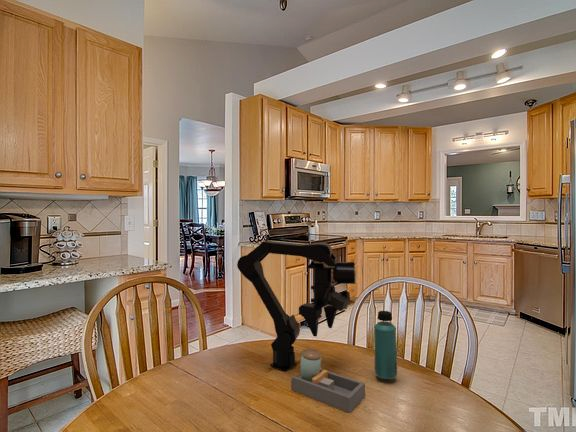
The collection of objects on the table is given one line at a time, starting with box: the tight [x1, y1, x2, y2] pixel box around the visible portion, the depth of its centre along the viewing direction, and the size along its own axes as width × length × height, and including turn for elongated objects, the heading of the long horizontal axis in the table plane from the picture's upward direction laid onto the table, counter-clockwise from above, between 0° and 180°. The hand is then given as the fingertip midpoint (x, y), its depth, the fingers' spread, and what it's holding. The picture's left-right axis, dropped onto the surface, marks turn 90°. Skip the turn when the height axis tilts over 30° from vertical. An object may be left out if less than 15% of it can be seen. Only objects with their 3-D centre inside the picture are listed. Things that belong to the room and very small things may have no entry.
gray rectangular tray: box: [290, 368, 366, 414], centre depth 90 cm, size 18×9×4 cm, turn 53°
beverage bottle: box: [373, 310, 398, 380], centre depth 97 cm, size 6×7×20 cm
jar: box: [298, 348, 322, 382], centre depth 93 cm, size 6×6×8 cm
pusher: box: [312, 369, 334, 389], centre depth 90 cm, size 4×7×3 cm, turn 143°
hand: (322, 331), depth 103 cm, fingers open, 9 cm apart
